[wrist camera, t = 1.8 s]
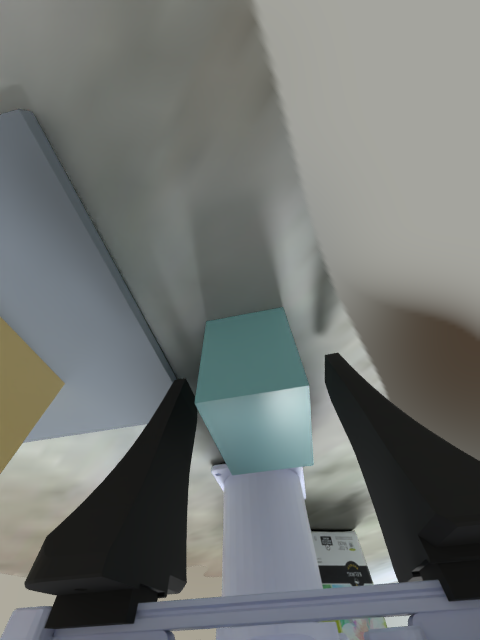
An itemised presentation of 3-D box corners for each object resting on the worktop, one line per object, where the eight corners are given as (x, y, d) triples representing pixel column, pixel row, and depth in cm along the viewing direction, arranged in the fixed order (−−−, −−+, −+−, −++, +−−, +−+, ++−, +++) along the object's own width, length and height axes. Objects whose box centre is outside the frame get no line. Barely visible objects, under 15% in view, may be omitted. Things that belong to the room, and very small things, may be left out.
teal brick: (291, 382, 15) (313, 465, 11) (231, 392, 16) (232, 475, 12) (282, 306, 12) (309, 385, 8) (206, 320, 12) (194, 403, 8)
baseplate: (192, 409, 17) (191, 417, 16) (13, 437, 18) (7, 445, 17) (32, 111, 7) (18, 108, 7) (-311, 212, 9) (-344, 215, 8)
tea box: (356, 527, 34) (426, 733, 22) (332, 546, 40) (376, 718, 28) (253, 527, 33) (267, 749, 20) (243, 547, 38) (249, 729, 26)
